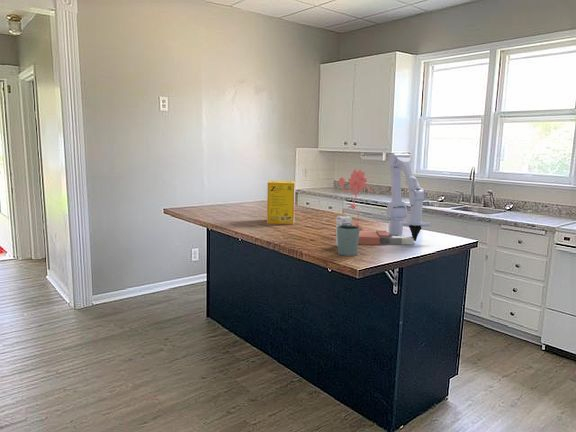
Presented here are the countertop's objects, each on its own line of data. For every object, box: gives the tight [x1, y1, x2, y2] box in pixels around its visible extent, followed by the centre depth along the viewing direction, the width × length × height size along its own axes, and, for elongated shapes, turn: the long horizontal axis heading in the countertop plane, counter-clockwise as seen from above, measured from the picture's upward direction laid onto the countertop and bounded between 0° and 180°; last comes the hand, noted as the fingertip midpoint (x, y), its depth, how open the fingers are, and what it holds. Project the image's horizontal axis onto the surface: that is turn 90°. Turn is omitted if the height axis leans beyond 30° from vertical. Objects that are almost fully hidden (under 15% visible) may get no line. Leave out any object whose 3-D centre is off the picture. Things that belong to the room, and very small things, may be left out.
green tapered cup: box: [337, 225, 361, 257], centre depth 195 cm, size 10×10×12 cm
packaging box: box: [266, 180, 296, 225], centre depth 275 cm, size 16×16×25 cm
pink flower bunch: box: [338, 169, 374, 231], centre depth 244 cm, size 15×26×35 cm, turn 38°
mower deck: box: [358, 229, 403, 246], centre depth 224 cm, size 16×21×4 cm
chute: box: [392, 235, 415, 245], centre depth 221 cm, size 5×10×3 cm, turn 85°
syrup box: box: [335, 215, 353, 247], centre depth 209 cm, size 6×6×14 cm
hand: (414, 240), depth 223 cm, fingers closed
